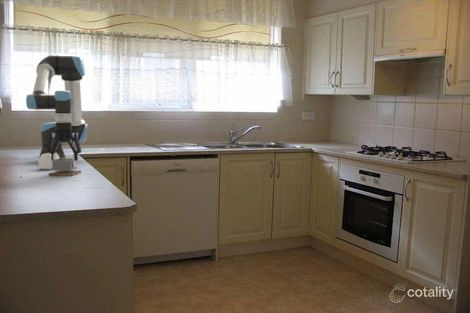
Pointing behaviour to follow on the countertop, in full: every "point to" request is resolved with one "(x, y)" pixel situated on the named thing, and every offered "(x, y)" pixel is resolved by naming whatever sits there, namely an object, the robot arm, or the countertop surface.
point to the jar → (46, 160)
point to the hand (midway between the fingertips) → (64, 167)
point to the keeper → (64, 172)
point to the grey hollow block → (63, 165)
